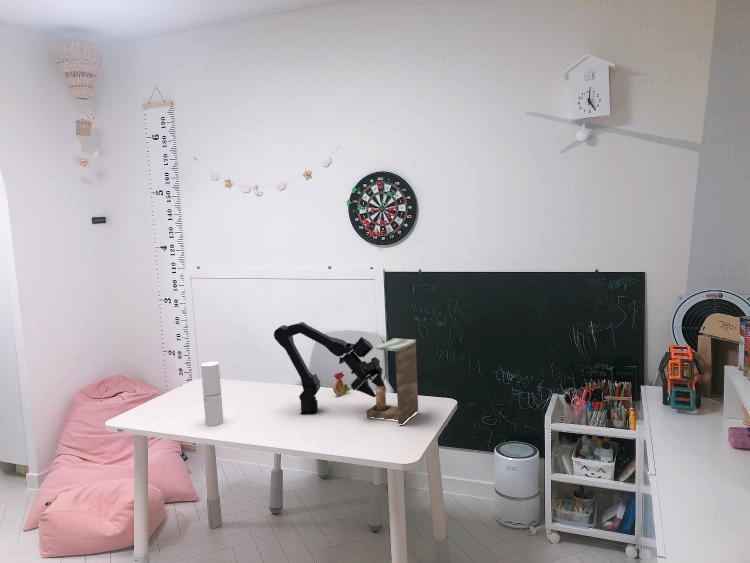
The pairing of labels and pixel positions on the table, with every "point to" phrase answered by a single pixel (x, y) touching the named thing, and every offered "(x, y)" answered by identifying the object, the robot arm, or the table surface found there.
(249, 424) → the table surface
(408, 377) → the socket stand
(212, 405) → the cylindrical container
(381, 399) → the peg
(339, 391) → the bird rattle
